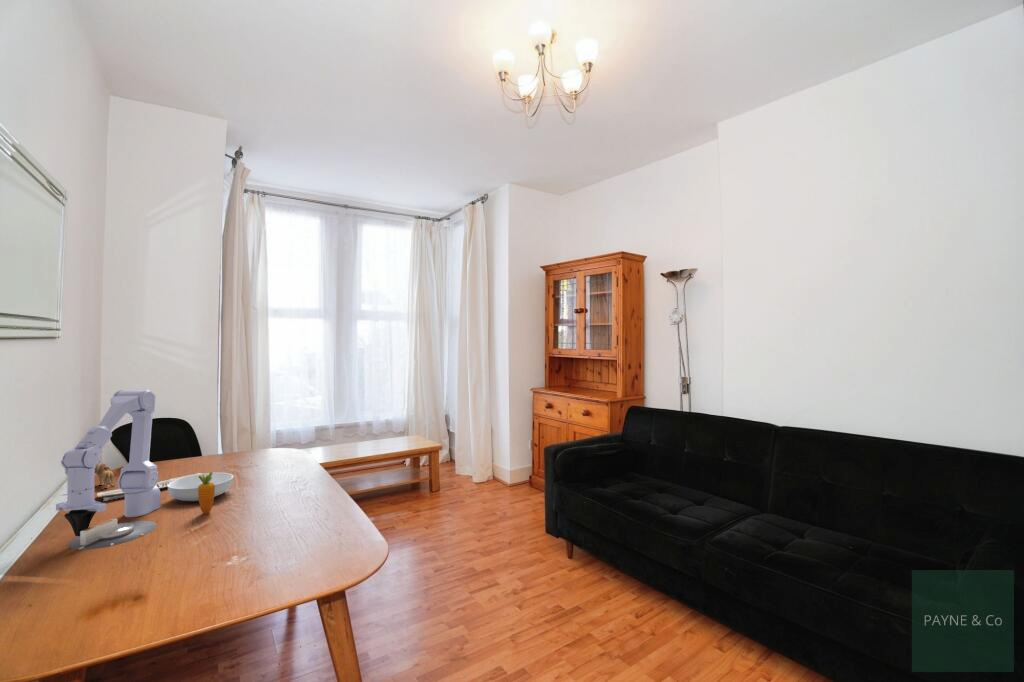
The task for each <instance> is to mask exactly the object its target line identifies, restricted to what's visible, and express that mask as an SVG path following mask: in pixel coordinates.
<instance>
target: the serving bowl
mask: <svg viewBox="0 0 1024 682" xmlns="http://www.w3.org/2000/svg"><path fill="white" fill-rule="evenodd" d="M209 473H210V472H208V473H207V472H206V473H202V474H197V473H196V474H197V475H192V474H191V475H192V476H187V475H186V476H187V477H183V478H180V479H177V480H174V481H172V482H170V483H169V484H168V485H167V487H168V488H167V491H168V493H169V495H170V496H171V497H172V498H173V499H175V500H178V501H183V502H199V497H198V486H199V485H200V484H203V482H202V481H201V480H200V478H199V477H198V476H199V475H201V476H202V475H204V476H205V477H206V476H207V475H209ZM202 477H203V476H202ZM211 477H212V479H211V480H210V481H209V482H212V483H214V486H215V490H214V498H215V497H217V496H219V495H222V494H224V493H225V492H227V490H229V488H230V487H231V486H232V484H233V481H234V474H232V473H230V472H229V473H228V472H212V476H211Z"/></svg>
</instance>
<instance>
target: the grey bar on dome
mask: <svg viewBox="0 0 1024 682" xmlns="http://www.w3.org/2000/svg"><path fill="white" fill-rule="evenodd" d="M122 523H123V524H119V523H118V518H110V519H108V520H105V521H103V522H100V523H98V524H95V525H92V526H89V527H88V528H87V529H84V530H82V531H80V545H88V544H90V543H92V542H95V541H97V540H98V541H105V540H112V539H116V538H120V537H123V536H126V535H128V534H130V533H132V532H133V531H134V524H132V523H125V522H122Z"/></svg>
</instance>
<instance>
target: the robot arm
mask: <svg viewBox="0 0 1024 682" xmlns="http://www.w3.org/2000/svg"><path fill="white" fill-rule="evenodd" d="M155 404H156V394H154V393H153V391H152V390H150V389H141V390H140V389H139V390H138V389H135V390H134V389H133V390H131V389H130V390H129V389H127V390H123V389H119V390H117V391H115V392H114V393H113V395H112V397H111V398H110V407H109V408H108V409H107V411H106V413H105V414H104V416H103V417H102V419H101V421H99V424H98V425H97V426H93V427H91V428H90V429H88V431H87V432H86V433H85V435H84V436H83V437H82V438H81V440H80V441H79V442H78V443H77V444H76V446H75V447H74V448H71V449H69V450H67V451H66V452H65V453H64V454H63V457H62V459H61V460H60V465H61V466H62V467H63V469H64V474H65V475H67V478H66V480H67V481H66V485H67V486H66V489H67V491H66V492H67V494H66V495H67V500H66V501H62V502H58V503H56V504H55V511H57V512H58V511H64V512H68V513H65V514H64V518H65V519H66V520H67V521H68V523H69V524H70V526H71V528H72V530H73V531H72V532H73V533H74V537H78V536H80V531H82V530H84V529H87V528H90V525H91V524H90V523H91V522H92V520H93V518H94V516H95V515H96V513H101V512H104V511H107V503H106V502H101V501H97V500H95V474H94V468H95V467H96V466H97V464H99V463H100V461H101V456H102V453H103V449H104V447H105V446H106V444H107V443H108V441H110V439H111V438H112V437H113V433H112V430H113V429H114V428H115V426H116V425H117V424H118V423H120V421H121V420H122V418H124V416H125V415H126V414H129V416H131V417H132V424H131V438H130V446H129V449H130V450H129V462H128V463H127V464H126V465H124V466H123V467H121V468H120V474H119V477H117V486H118V489H121V490H122V492H124V493H125V497H124V517H126V518H135V517H136V518H137V517H139V516H141V517H142V516H144V515H147V514H150V513H152V512H153V511H156V510H158V509H160V508H161V490H159V488H158V487H156V486H155V485H156V484H157V482H158V481H159V479H160V478H159V477H160V476H159V473H158V465H156V464H155V463H154V462H151V461H150V454H151V452H150V450H151V441H152V440H151V439H152V427H153V426H152V425H153V413H154V412H155V407H156V405H155Z"/></svg>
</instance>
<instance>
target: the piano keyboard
mask: <svg viewBox="0 0 1024 682" xmlns="http://www.w3.org/2000/svg"><path fill="white" fill-rule="evenodd" d="M197 474H203V473H202V472H197V473H192V474H188V475H187V474H186V475H183V476H178V477H173V478H168V479H163V480H158V482H157V484H156V485H155V486H156V487H158V488H159V490H160V491H161V490H165V489H168V487H167V485H168V484H169V483H170V482H172V481H174V480H177V479H180V478H183V477H187V476H192V475H197ZM96 495H97V498H102V497H103V498H102V499H103V502H102V503H105V502H104V501H106V502H110V501H109V500H111V501H114V500H113V499H115V500H119V499H118V498H120V499H124V498H125V493H124V492H122V490H121V489H120V488H117V489H111V490H107V491H106V490H105V491H101V492H97V493H96ZM123 497H124V498H123Z"/></svg>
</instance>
